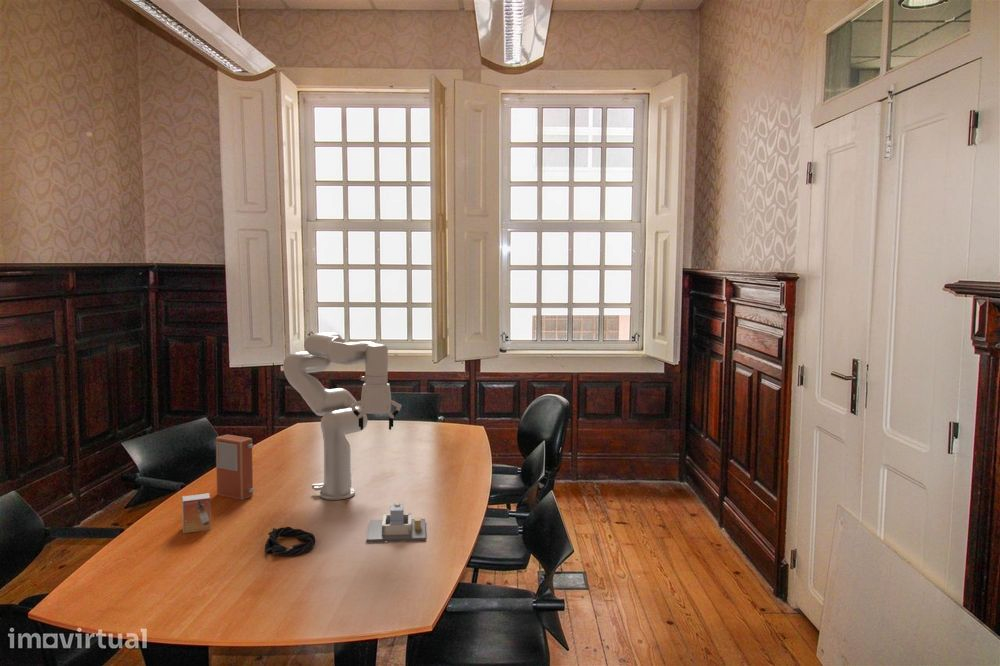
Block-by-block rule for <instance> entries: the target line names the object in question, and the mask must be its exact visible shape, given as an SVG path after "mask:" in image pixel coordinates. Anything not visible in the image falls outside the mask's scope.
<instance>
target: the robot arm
mask: <svg viewBox="0 0 1000 666" xmlns="http://www.w3.org/2000/svg"><path fill="white" fill-rule="evenodd" d="M303 347H304V351H297V352H296V351H295V352H293V353H290V354H288V355H286V357H285V358H284V360H283V364H282V366H283V367H282V368H283V374H284V376H285V378H286V380H287V381H288V383H289V384H290V386H292V387H293V389H294V390H295V391H297V392H298V393H299V394H300V396H301V397H302V399H303V400H304V401H305V403H306V404H307V405H308V407H309V408H310V409H311V411H312V412H313V413H314V414H315V415H316V416H319V417H321V416H322V417H321V420H320V428H321V435H322V440H323V476H324V477H323V482H320V483H312V484H311V489H312V490H313V491H320V492H319V497H320V498H321V499H323V500H328V501H329V500H330V501H339V500H345V499H346V500H347V499H348V498H352V497H353V496H354V495H355V494H356V490H355V489H354V488H353V487H352V486H351V483H352V482H351V481H352V480H351V479H352V478H351V477H352V475H351V468H352V467H351V465H352V464H351V457H352V456H351V445H350V442H349V441H348V439H347V437H346V435H350V434H355V433H359V432H362V431H363V430H364V429H366V428H367V426H368V416H367V414H368V415H369V414H370V415H371V414H372V415H373V414H374V415H380V414H381V415H382V414H384V415H385V414H387V415H388V417H389V418H388V430H392V428H394V418H395V417H396V416H397V415H398V414H399V413H400V410H401V408H402V404H400V403H398V402H397V401H395V400H393V399H392V392H391V386H390V385H391V384H390V383H388V377H389V376H388V375H389V374H388V371H389V369H388V367H389V366H388V365H389V363H388V361H389V360H388V357H389V354H388V353H389V348H388V346H387V345H386V344H384V343H383V344H382V343H375V342H373V341H370V340H369V341H357V342H353V341H352V342H345V339H344V338H343V337H342V336H341V335H340V334H339V333H337V332H332V331H331V332H317V333H316V332H315V333H312V334H310V335H308V336H307V337H306V338H305V340H304V343H303ZM332 364H339V365H344V366H345V365H346V366H351V365H359V364H365V366H364V367H365V369H364V371H365V372H364V373H365V375H364V376H360V381H362V382H364V383H363V384H362V386H361V397H360V398H361V399H360V400H356V398H355V397H354V396H353V395H352V393H351V392H350V391H348V390H347V389H345V388H342V387H337V388H331V389H330V388H326V387H325V386H324V385H323V384H322V383H321V381H320V380H319V379H318V378H316V377H315V376H313V375H310V373H311V374H313V373H321V372H323V371H326V370H327V369H329V367H330V366H331V365H332ZM392 406H394V407H396V409H395V410H394V411H392Z"/></svg>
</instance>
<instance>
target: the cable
mask: <svg viewBox="0 0 1000 666" xmlns="http://www.w3.org/2000/svg"><path fill="white" fill-rule="evenodd" d="M267 534H268V538H267V539H266V542H265V546H264V553H265V554H269V553H272V555H273V556H275V554H278V555H279V556H284V557H289V558H293V557H296V556H297V557H298V556H299V555H302V554H303V555H304V554H308V553H309V552H310V551H311V550H312V549H313V547H314V546H315V543H316V537H315V535H314V534H313V533H312V532H310V531H309V532H308V531H306V530H303V529H300V528H292V527H291V526H286V527H279V528H275V527H273V528H272V531H269V532H268V533H267ZM295 537H296V538H297V540H300V541H301V540H302V541H303V540H305V541H306V542H301V543H297V544H294V545H291V547H286V546H284V545H282V544H280V543H279V542H278V538H295Z"/></svg>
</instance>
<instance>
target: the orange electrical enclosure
mask: <svg viewBox="0 0 1000 666" xmlns="http://www.w3.org/2000/svg"><path fill="white" fill-rule="evenodd" d="M253 447H254V444H253V438H251V437H246V436H240V435H239V436H238V435H234V434H224V435H220V436H216V437H215V468H216V470H215V471H216V472H215V473H216V494H217V495H218V496H222V497H227V498H232V499H237V500H245V499H248V498H251V497H253V496H254V491H255V489H254V479H253V478H254V477H253V476H254V475H253V474H254V473H253V471H254V470H253V469H254V467H253V465H254V464H253Z"/></svg>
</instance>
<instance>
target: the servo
mask: <svg viewBox="0 0 1000 666" xmlns="http://www.w3.org/2000/svg"><path fill="white" fill-rule="evenodd" d="M404 507H405V505H404V503H399V502H398V503H397V502H396V503H391V504H390V513H389V514H390V526H392V525H403V517H404V514H405V512H404Z"/></svg>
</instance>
